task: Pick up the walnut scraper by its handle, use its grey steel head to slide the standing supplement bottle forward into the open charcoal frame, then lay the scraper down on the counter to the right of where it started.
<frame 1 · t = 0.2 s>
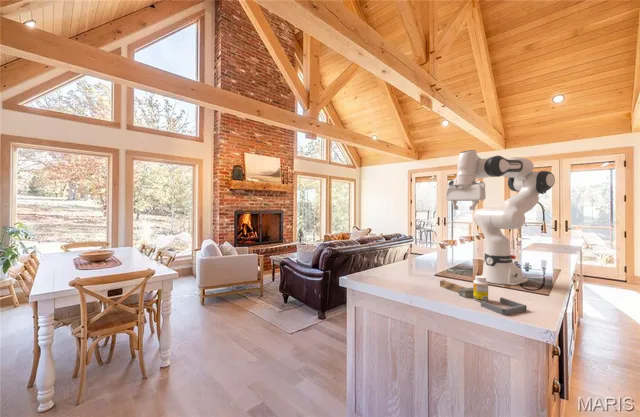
hand: (463, 209, 140), 38 cm above the counter, tool pointing down, fingers open, 8 cm apart
scraper: (458, 292, 132), on the counter
supplement bottle: (480, 300, 120), on the counter
frame: (503, 308, 111), on the counter
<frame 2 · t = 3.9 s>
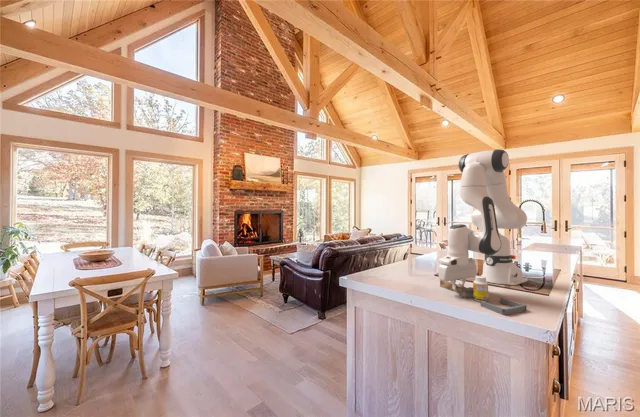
hand: (458, 288, 132), 2 cm above the counter, tool pointing down, fingers closed on scraper, 2 cm apart
scraper: (458, 292, 132), on the counter, touching gripper
everything else where it was.
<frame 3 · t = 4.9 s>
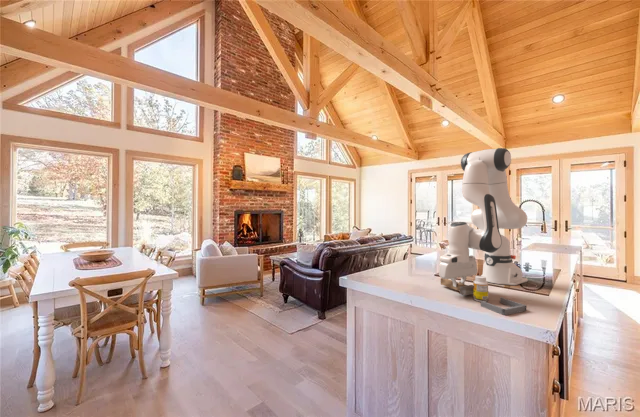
hand: (458, 286, 131), 3 cm above the counter, tool pointing down, fingers closed on scraper, 2 cm apart
scraper: (458, 289, 131), point 1 cm above the counter, touching gripper
everything else where it was.
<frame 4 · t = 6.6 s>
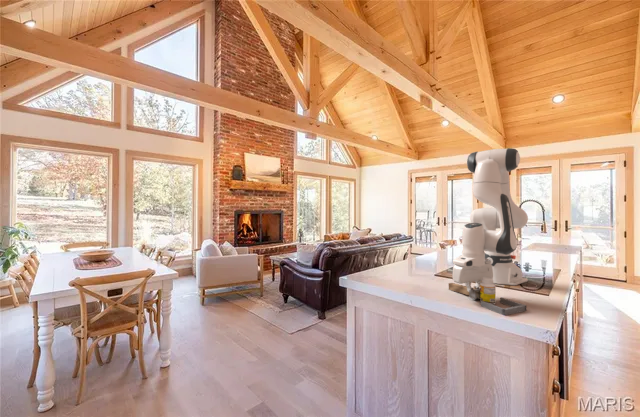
hand: (473, 291, 124), 3 cm above the counter, tool pointing down, fingers closed on scraper, 2 cm apart
scraper: (467, 294, 126), point 1 cm above the counter, touching gripper
supplement bottle: (487, 303, 117), on the counter
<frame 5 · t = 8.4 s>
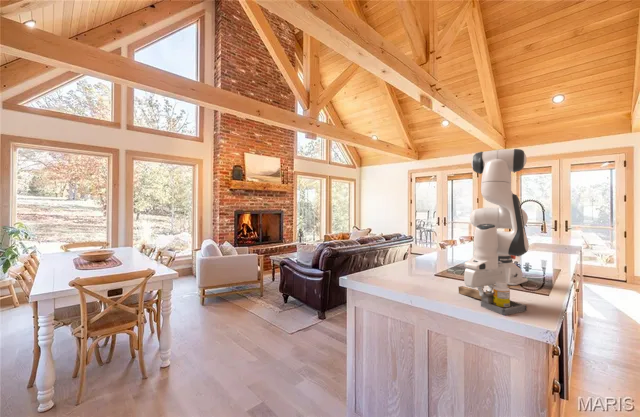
hand: (485, 295, 118), 3 cm above the counter, tool pointing down, fingers closed on scraper, 2 cm apart
scraper: (479, 298, 121), point 1 cm above the counter, touching supplement bottle, gripper
supplement bottle: (501, 308, 112), on the counter, touching scraper
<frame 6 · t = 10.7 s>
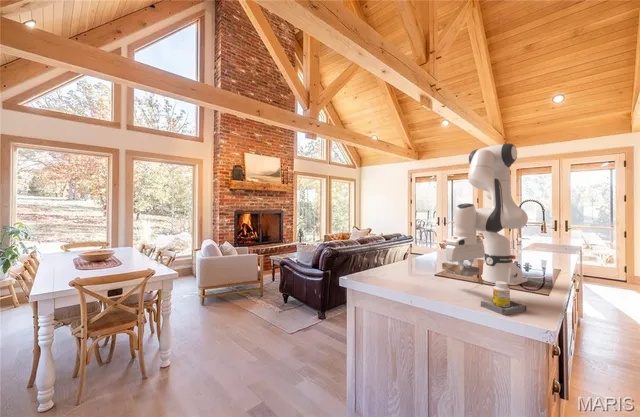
hand: (465, 269, 128), 12 cm above the counter, tool pointing down, fingers closed on scraper, 2 cm apart
scraper: (460, 272, 131), point 9 cm above the counter, touching gripper
supplement bottle: (501, 308, 112), on the counter
when the fingers open (3 cm above the counter, at t = 14.7 s): scraper stays where it is, on the counter.
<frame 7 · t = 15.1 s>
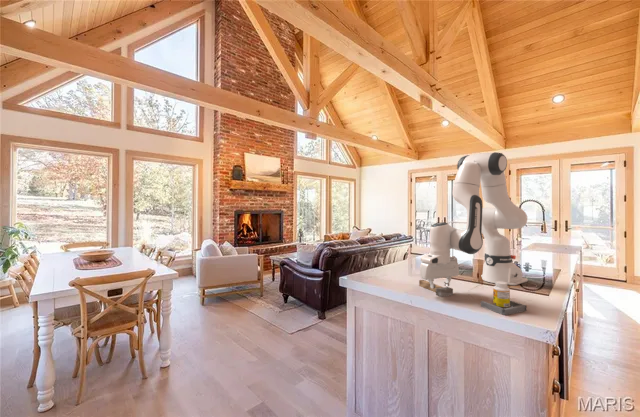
hand: (439, 286, 130), 3 cm above the counter, tool pointing down, fingers open, 7 cm apart
scraper: (435, 291, 133), on the counter
everything else where it was.
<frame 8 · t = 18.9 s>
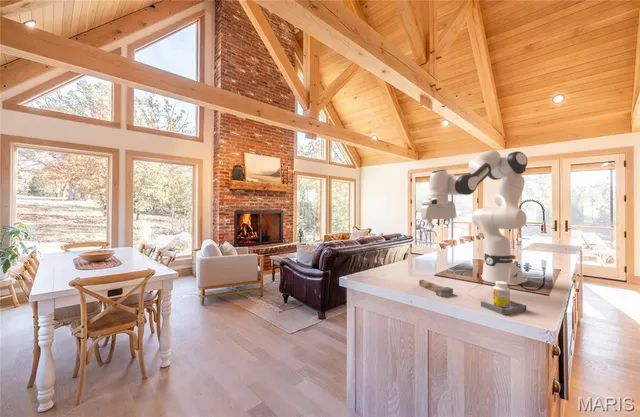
hand: (438, 227, 145), 29 cm above the counter, tool pointing down, fingers open, 8 cm apart
nothing on the counter moved.
at the end: supplement bottle inside the target area on the frame (1.1 cm from its centre), point 0.0 cm above the frame's base; supplement bottle tilted 0°; scraper on the counter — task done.
